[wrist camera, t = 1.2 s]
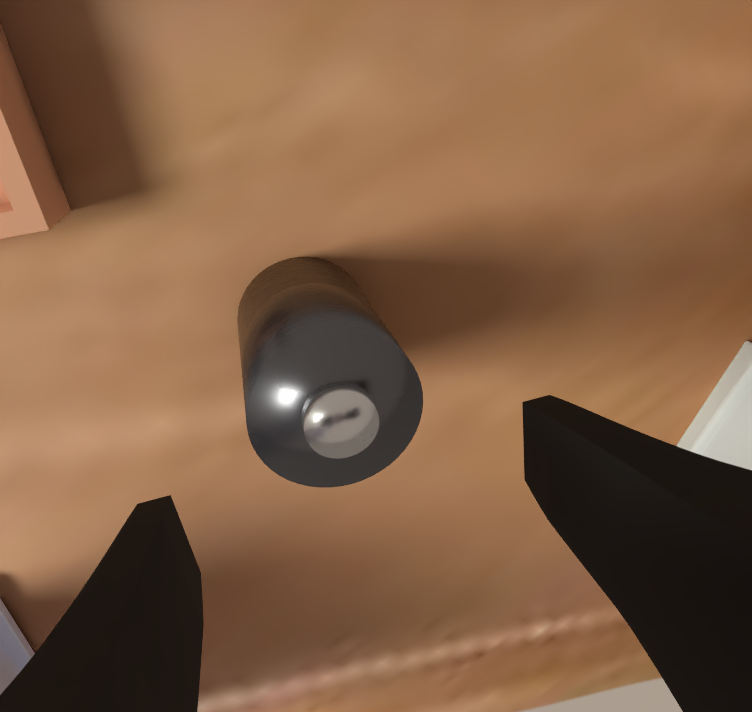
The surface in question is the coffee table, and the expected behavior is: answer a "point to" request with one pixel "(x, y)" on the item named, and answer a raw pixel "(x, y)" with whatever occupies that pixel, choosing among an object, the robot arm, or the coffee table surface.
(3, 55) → the dish
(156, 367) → the coffee table surface
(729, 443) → the external hard drive
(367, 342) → the cell
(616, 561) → the robot arm
